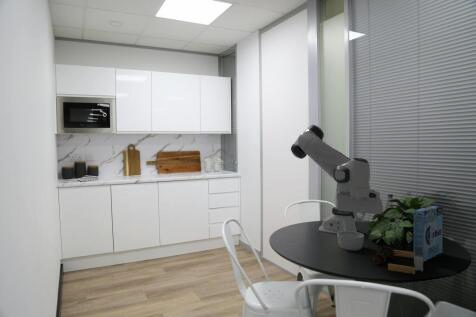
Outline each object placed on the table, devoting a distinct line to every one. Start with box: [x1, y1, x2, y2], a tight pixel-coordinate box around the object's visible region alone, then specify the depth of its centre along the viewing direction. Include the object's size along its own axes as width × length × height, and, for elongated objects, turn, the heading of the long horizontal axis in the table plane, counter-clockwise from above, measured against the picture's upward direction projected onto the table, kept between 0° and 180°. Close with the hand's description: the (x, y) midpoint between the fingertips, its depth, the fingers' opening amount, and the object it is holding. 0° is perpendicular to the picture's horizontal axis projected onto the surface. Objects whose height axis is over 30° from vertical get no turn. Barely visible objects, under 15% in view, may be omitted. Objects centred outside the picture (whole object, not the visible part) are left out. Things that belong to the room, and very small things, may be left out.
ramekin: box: [336, 231, 365, 251], centre depth 169 cm, size 13×13×7 cm
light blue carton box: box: [412, 205, 444, 263], centre depth 154 cm, size 20×5×23 cm, turn 126°
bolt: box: [372, 245, 394, 265], centre depth 148 cm, size 6×5×15 cm
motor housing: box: [387, 246, 424, 275], centre depth 144 cm, size 13×22×7 cm, turn 153°
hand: (359, 221), depth 153 cm, fingers closed
